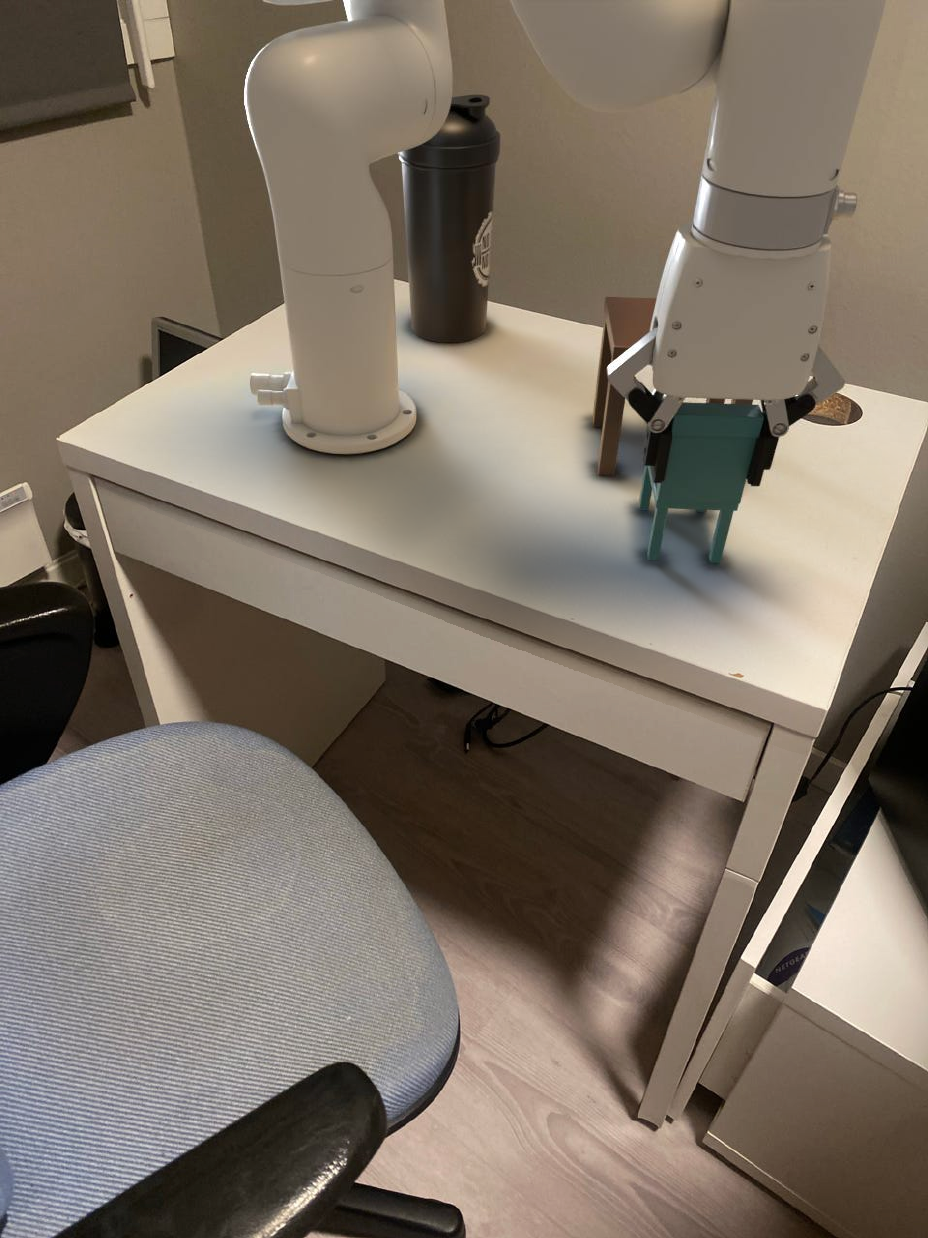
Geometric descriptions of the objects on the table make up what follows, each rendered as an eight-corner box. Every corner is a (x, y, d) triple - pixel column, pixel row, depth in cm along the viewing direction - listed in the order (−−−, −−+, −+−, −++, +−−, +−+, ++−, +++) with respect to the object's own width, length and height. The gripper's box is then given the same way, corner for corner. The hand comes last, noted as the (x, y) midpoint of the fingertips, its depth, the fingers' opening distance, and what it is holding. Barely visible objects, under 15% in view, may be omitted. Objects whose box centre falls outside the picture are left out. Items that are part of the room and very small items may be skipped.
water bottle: (484, 350, 97) (491, 111, 82) (393, 341, 99) (383, 105, 83) (500, 312, 105) (509, 87, 89) (415, 304, 106) (410, 82, 91)
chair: (724, 568, 69) (764, 417, 60) (646, 565, 69) (674, 414, 60) (707, 505, 75) (740, 360, 67) (635, 503, 75) (659, 357, 67)
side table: (597, 475, 79) (614, 346, 71) (591, 419, 86) (605, 296, 78) (735, 480, 78) (767, 351, 70) (716, 423, 86) (744, 300, 78)
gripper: (890, 195, 55) (811, 451, 67) (607, 188, 55) (579, 443, 67) (932, 238, 49) (838, 508, 61) (617, 229, 50) (585, 499, 62)
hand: (703, 472), depth 64 cm, fingers closed on chair, 6 cm apart
